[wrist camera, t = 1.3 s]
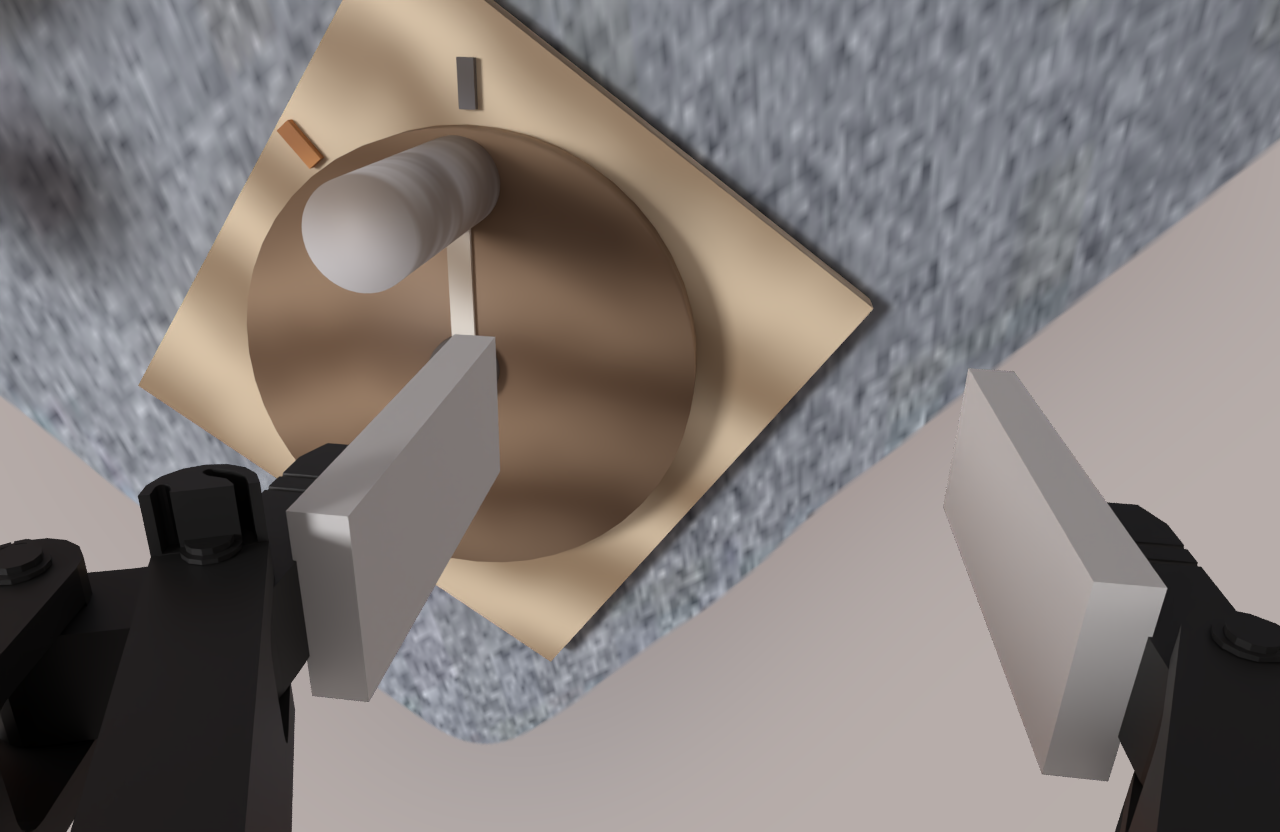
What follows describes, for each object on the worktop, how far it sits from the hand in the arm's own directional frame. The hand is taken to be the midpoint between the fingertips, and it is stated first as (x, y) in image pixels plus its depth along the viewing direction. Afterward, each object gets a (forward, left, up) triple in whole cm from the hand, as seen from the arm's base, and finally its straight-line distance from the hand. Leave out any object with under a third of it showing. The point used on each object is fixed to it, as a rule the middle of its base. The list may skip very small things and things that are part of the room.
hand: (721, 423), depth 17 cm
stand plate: (+13, -5, -25) cm, 29 cm away
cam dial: (+13, -5, -24) cm, 27 cm away
